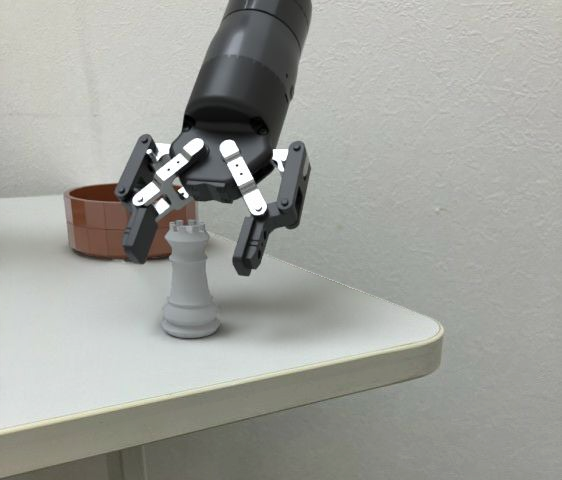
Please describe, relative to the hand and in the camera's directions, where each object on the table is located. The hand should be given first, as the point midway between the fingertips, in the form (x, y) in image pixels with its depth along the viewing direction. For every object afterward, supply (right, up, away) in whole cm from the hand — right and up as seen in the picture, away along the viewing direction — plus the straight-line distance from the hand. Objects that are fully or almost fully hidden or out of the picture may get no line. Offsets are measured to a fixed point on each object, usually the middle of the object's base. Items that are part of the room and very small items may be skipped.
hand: (185, 264), depth 47 cm
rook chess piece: (0, -5, +3) cm, 5 cm away
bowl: (-10, +7, +27) cm, 29 cm away
